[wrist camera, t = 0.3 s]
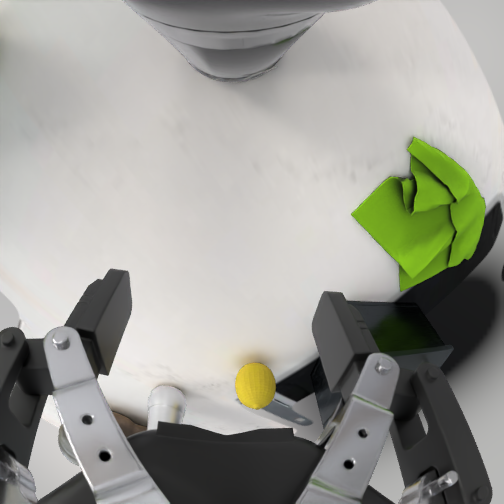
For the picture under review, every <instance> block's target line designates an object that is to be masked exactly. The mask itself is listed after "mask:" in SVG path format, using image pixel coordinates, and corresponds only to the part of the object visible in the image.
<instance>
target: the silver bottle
mask: <svg viewBox="0 0 504 504" xmlns="http://www.w3.org/2000/svg"><path fill="white" fill-rule="evenodd" d="M186 406H187V404H186V397H185V396H184V394H183V393H182V391H180V390H179V389H177V388H175V387H172V386H165V385H164V386H158V387H156V388H155V389H153V390H152V391H151V393H150V396H149V399H148V411H149V412H148V426H147V430H152V429H157V425H158V421H162V422H169V423H176V424H182V421H183V417H184V414H185V411H186Z"/></svg>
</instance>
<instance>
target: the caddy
mask: <svg viewBox="0 0 504 504" xmlns="http://www.w3.org/2000/svg"><path fill="white" fill-rule="evenodd" d="M347 303H348V304H352V305H353V306H354V307H355V308H356V309H357V310H358V311H359V312H360V314H361V316H362V317H363V319H364V322H365V323H366V325H367V327H368V329H369V331H370V333H371V335H372V337H373V339H374V341H375V343H376V345H377V347H378V349H379V351H380V352H392V351H404V350H414V349H423V348H431V347H439V346H445V344H444V343H443V341H442V340H441V338H440V337H439V335H438V334H437V332H436V331H435V330H434V328H433V327H432V326H431V324H430V322H429V321H428V319H427V318H426V317H425V315H424V314H423V312H422V311H421V310H420V308H419V307H418V306H417V304H416V303H389V302H360V301H347ZM311 379H312V383H313V387H314V391H315V395H316V399H317V403H318V408H319V411H320V416H321V420H322V424H323V425H324V424H325V423H326V422H327V420H328V419H329V418H330V416H331V415H332V414H333V412H334V410H335V409H336V407H337V405H338V403H339V401H340V399H341V398H342V393H341V392H335V393H331V391H330V388H329V385H328V381H327V378H326V375H325V371H324V368H323V365H322V362H321V358H320V356H319V358H318V360H317V362H316V365H315V367H314V369H313V371H312V373H311Z"/></svg>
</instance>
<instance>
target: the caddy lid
mask: <svg viewBox="0 0 504 504" xmlns="http://www.w3.org/2000/svg"><path fill="white" fill-rule="evenodd" d="M452 351H453V347H452V346H451V345H447V346H439V347H431V348H423V349H414V350H404V351H392V352H380V353H384V354H387V355H389V356H391V357H392V358H393V359H394V360H395V361H396V362H397V364H398V365H399V368H403V369H408V370H414V371H415V370H416V369H417V367H418V366H419V365H420V364H421V363H424V362H429V363H432V364H434V365H436V366H437V367H439V368H440V367H441V365H442V364H443V363H444V361H445V360H446V359H447V357H448V356H449V355H450V353H451V352H452ZM331 416H332V415H331ZM331 416H330V418H331ZM330 418H329V419H328V420H327V422H326V423H325V424H324V425H323V428H324V429H325V427H326V425H327V423H328V422H329V420H330Z"/></svg>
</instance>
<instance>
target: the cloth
mask: <svg viewBox="0 0 504 504" xmlns="http://www.w3.org/2000/svg"><path fill="white" fill-rule="evenodd" d="M407 150H408V151H409V152H410V153H411V162H410V165H411V172H412V173H413V175H414V176H415V179H412V180H409V179H408V178H405V179H403V178H399V177H389V178H388V179H387V180H385V181H384V182H383V183H382V184H381V185H380V186H379V187H378V188H377V189H376V190H375V191H374V192H373V193H372V194H371V195H370V196H369V197H368V198H367V199H366V200H365V201H364V202H363V203H362V204H361V205H360V206H359V207H358V208H357V209H356V210H355V211H354V212H353V213H352V214H351V215H352V216H353V217H354V218H355V219H356V220H357V221H358V222H359V223H360V224H361V225H362V226H363V227H364V228H365V229H366V231H367V232H368V233H369V234H370V235H371V236H372V237H373V238H374V239H375V240H376V241H377V242H378V243H379V244H380V245H381V246H382V247H383V248H384V250H385V251H386V252H387V253H388V254H389V255H390V256H391V257H393V258H394V259H395V260H396V261H397V262H398V263H399V268H400V271H399V277H400V291H403V290H406V289H408V288H410V287H412V286H414V285H416V284H418V283H420V282H422V281H424V280H426V279H428V278H430V277H432V276H434V275H435V274H437V273H439V272H440V271H442V270H444V269H446V268H447V267H452V266H456V265H458V264H460V262H461V261H462V260H463V259H464V258H465V259H467V260H468V259H470V258H471V256H472V255H473V253H474V251H475V249H476V245H477V243H478V241H479V238H480V234H481V230H482V227H483V223H484V215H485V209H486V205H485V200H484V198H482V197H481V195H480V192H479V190H478V189H477V187H476V186H475V184H474V182H473V180H472V179H471V177H470V176H469V174H468V173H467V172H466V171H465V170H464V169H463V168H462V167H461V166H459V165H458V164H457V163H456V162H455V161H454V160H453V159H451V158H450V157H448V156H447V155H446V154H445V153H443V152H442V151H440V150H438V149H437V148H434V147H431V146H430V145H428V144H427V143H425V142H423V141H421V140H419V139H417V138H415V137H413V142H412V144H411V145H410V146H409V147H408V149H407Z"/></svg>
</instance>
